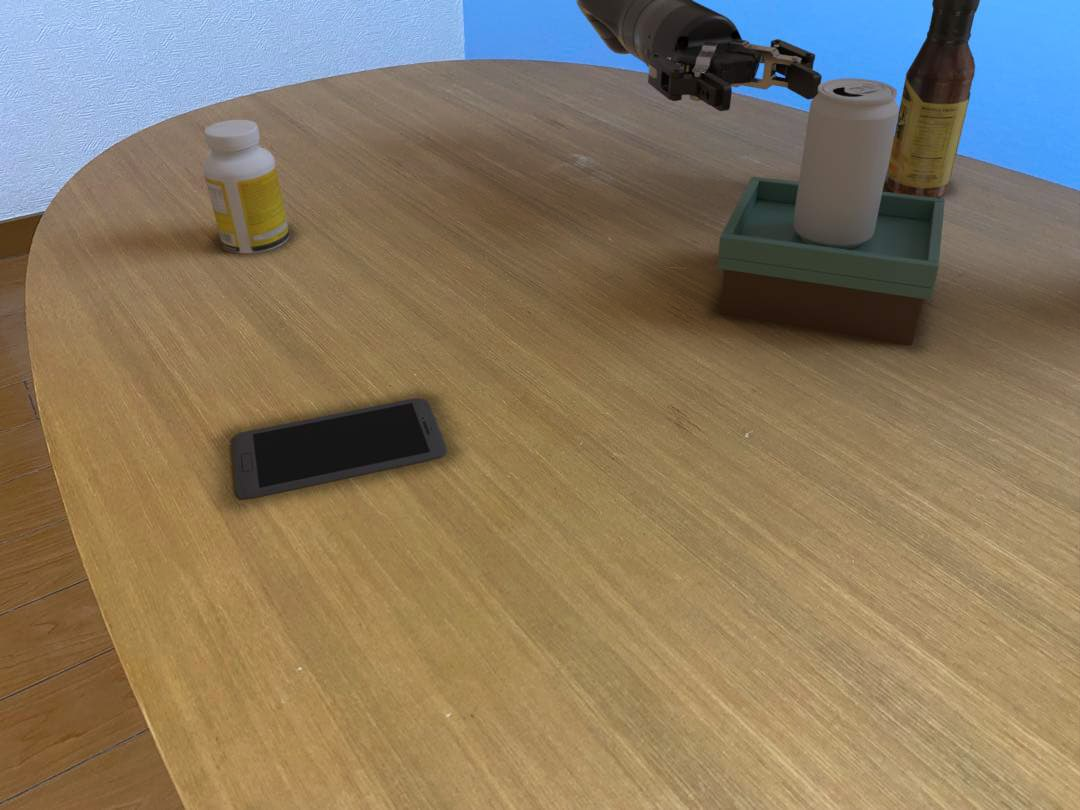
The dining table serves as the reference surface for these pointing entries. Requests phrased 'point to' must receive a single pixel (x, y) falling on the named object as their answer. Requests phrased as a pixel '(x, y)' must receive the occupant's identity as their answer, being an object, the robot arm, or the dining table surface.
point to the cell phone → (334, 448)
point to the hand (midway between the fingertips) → (772, 93)
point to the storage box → (830, 266)
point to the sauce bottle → (934, 103)
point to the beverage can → (845, 162)
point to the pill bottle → (244, 188)
